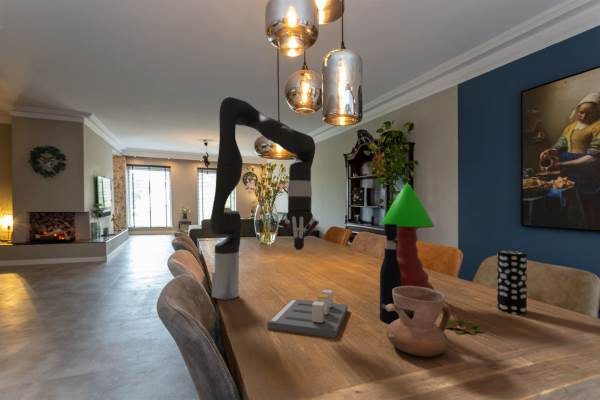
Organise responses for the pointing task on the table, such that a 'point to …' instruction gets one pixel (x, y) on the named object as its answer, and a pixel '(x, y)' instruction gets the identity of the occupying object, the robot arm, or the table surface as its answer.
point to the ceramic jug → (418, 321)
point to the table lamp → (409, 235)
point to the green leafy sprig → (461, 323)
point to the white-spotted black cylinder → (512, 282)
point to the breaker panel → (307, 319)
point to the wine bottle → (389, 275)
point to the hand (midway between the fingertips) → (299, 249)
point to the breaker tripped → (324, 299)
